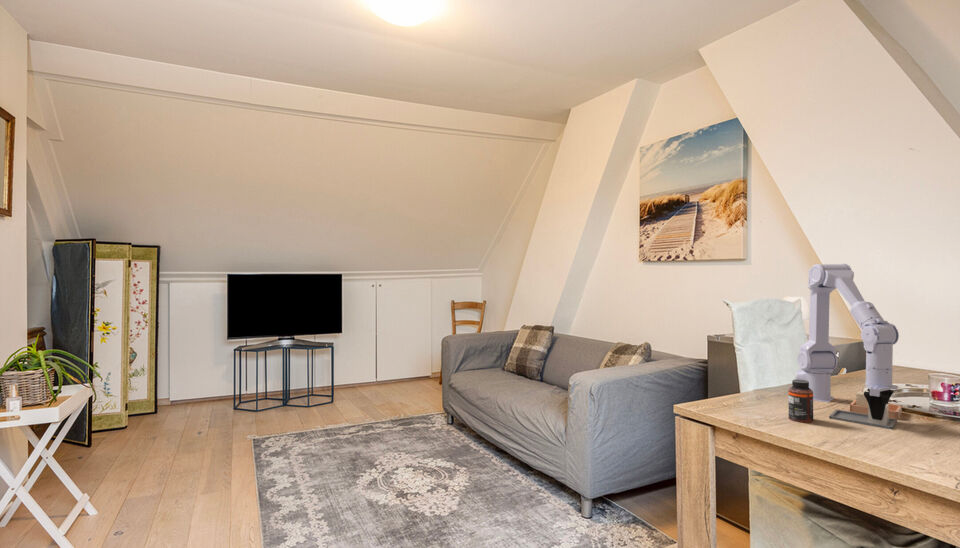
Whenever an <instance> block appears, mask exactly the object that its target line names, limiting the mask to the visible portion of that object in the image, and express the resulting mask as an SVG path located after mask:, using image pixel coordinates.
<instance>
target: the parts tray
mask: <svg viewBox="0 0 960 548" xmlns="http://www.w3.org/2000/svg"><path fill="white" fill-rule="evenodd" d="M828 419H829V420H830V419H831V420H835V421H842V422H846V423H853V424H860V425H864V426H870V427H877V428H881V429H886V430H893V429H894V428H895V426H896V424H897V422H898V420H897V419H892V418H889V423H888V424H887V426H886V425H880V424H875V423H869V422H868V415H867V414H861V413H855V412H850V410H848V411H847V410H842V409H835V410H834V411H833V412H832V413H830V415H829V416H828Z"/></svg>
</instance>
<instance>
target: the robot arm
mask: <svg viewBox="0 0 960 548" xmlns="http://www.w3.org/2000/svg"><path fill="white" fill-rule="evenodd" d="M854 277H855V272H854V270H852V267H851V266H850V264H848V263H836V264H835V263H834V264H830V263H829V264H827V263H825V264H823V263H822V264H819V263H815V264H813V265H812V266H811V267H810V268H809V269H808V281H807V282H808V285H807V286H808V287H807V288H808V289H809V322H808V323H809V324H808V340H807V341H806V342H804V343H803V344H801V345H800V346H799V353H798V355H797V364H798V366H799V367H800V369H796V372H795V378H794V380H796V379H800V380H806V381H808V382H809V388H810V389H811V390H812V391H813V401H815V402H823V403H831V401H833V400H834V399H835V396H831V395H832V394H831V390H832V388H831V384H832V383H831V381H832V380H831V379H832V373H834V370H836V369H837V367H838V364H839V359H838V357H837V348H836V347H835V346H834V345H832V344H831V343H830V342H829V339H830V335H829V333H830V331H829V330H830V298H831V297H830V294H831V293H832V292H833V291H835V289H837V290H838V292H839V293H840V294H841V295H842V296H843V297H844V299H845V301H847V302H848V304H849V305H850V306H851V308H850V311H849V312H850V314H851V315H852V318H853V319H854V320H855V322H856V323H857V325H858V326H859V327H860V329H861V332H860V338H861V341H862V343H863V349H864V350H865V382H864V386H865V387H866V388H867V389H866V390H867V391H863V392H864V396H865V398H866V400H867V402H868V404H869V408H870V412H871V416H872V419H876V420H882V419H883V416H884V411H885V406H886V404H889V402H890V399H891V397H892V395H893V394H894V392H895V391H894V390H898V389H899V386H898V385H894V384H893V358H894V356H893V351H894V349H893V346H894V345H896V344H897V343H898V340H899V336H900V335H899V330H898V329H897V327H896V325H895V324H893V323H890V322H888V321H887V320H884V318H883V317H882V316H881V314H880V313H879V310H877V308H876V306H875V305H874V303H872V302H869V301H866V300H865V298H864V297H863V295H862V294H861V291H860V290H859V288H858V287H857V284H856V283H855V281H854Z"/></svg>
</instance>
